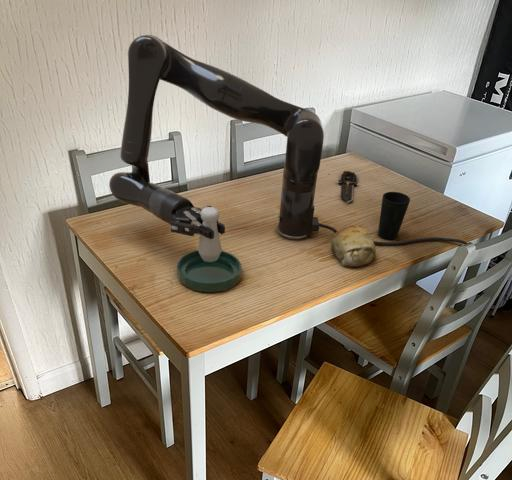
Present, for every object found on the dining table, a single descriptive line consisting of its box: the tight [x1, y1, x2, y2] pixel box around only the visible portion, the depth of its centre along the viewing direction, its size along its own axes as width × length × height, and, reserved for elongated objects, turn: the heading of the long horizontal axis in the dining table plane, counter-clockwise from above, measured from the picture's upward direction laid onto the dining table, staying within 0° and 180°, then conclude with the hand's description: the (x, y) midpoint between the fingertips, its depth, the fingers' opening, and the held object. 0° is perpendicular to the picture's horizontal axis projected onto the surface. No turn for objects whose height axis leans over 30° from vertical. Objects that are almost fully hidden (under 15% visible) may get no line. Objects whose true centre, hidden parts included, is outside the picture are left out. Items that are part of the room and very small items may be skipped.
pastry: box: [330, 225, 377, 268], centre depth 146 cm, size 14×12×8 cm
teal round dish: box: [176, 249, 242, 293], centre depth 136 cm, size 16×16×3 cm
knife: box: [337, 170, 358, 204], centre depth 182 cm, size 25×6×1 cm, turn 165°
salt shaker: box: [197, 206, 223, 262], centre depth 129 cm, size 6×6×13 cm
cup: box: [377, 191, 411, 241], centre depth 155 cm, size 8×8×12 cm
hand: (218, 232), depth 127 cm, fingers closed on salt shaker, 3 cm apart
